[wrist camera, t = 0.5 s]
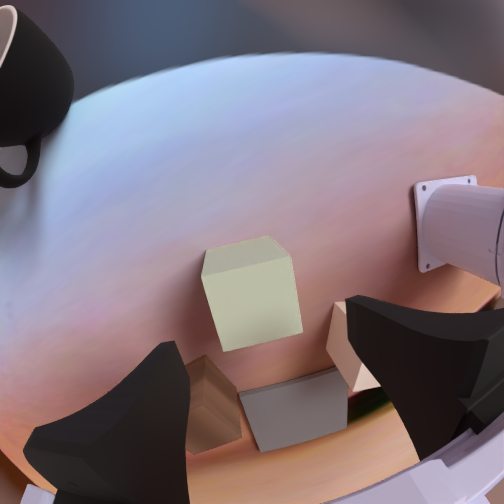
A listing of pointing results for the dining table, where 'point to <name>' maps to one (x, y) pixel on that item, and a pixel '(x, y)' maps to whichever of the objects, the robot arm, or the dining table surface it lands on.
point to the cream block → (347, 353)
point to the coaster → (297, 409)
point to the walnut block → (210, 408)
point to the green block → (251, 292)
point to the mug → (29, 88)
